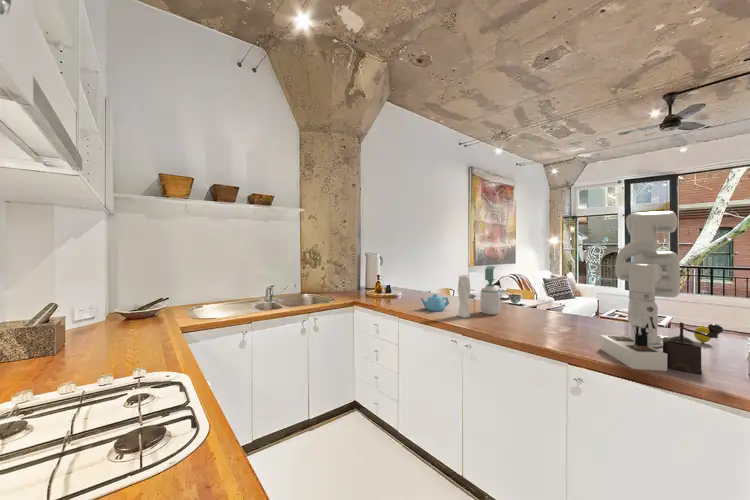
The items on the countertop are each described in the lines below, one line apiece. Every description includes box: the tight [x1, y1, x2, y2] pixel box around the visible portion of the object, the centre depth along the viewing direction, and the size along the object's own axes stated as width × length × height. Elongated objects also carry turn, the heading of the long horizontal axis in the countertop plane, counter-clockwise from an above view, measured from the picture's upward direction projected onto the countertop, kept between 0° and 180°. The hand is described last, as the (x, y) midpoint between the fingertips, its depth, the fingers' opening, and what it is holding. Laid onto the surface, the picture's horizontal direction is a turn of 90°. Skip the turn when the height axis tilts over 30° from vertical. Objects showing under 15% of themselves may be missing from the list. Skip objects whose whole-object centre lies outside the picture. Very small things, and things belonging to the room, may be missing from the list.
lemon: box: [693, 325, 712, 344], centre depth 148 cm, size 6×6×8 cm
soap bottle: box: [480, 265, 501, 316], centre depth 213 cm, size 12×12×31 cm
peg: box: [634, 344, 648, 350], centre depth 122 cm, size 4×4×6 cm
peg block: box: [599, 334, 668, 372], centre depth 128 cm, size 11×23×6 cm, turn 170°
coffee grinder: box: [662, 321, 724, 375], centre depth 118 cm, size 16×11×18 cm
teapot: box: [420, 293, 450, 312], centre depth 226 cm, size 15×15×11 cm
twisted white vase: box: [455, 272, 473, 319], centre depth 203 cm, size 8×8×28 cm
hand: (641, 345), depth 121 cm, fingers closed
